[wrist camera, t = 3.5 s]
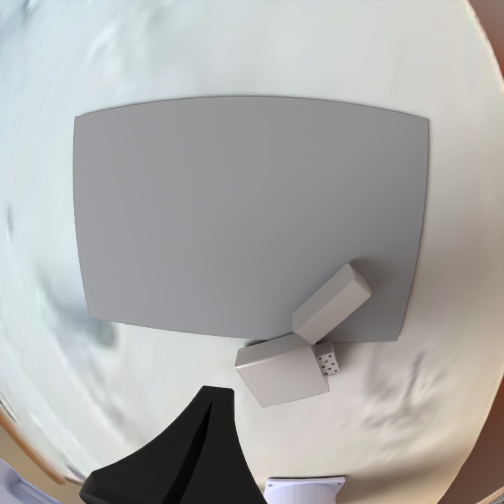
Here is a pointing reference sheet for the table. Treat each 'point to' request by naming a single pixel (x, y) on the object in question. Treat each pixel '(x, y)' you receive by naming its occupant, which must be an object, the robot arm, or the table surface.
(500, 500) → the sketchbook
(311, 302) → the lighter
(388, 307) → the mat
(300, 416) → the table surface
